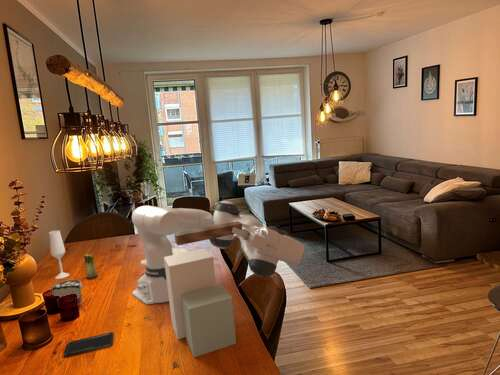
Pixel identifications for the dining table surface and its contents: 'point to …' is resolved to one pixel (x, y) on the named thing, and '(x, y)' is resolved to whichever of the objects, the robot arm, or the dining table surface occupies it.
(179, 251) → the medallion
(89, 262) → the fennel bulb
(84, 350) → the phone
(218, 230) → the walnut bar
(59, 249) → the champagne flute
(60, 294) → the food container
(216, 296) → the sage base
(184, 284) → the white pedestal
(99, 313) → the dining table surface
